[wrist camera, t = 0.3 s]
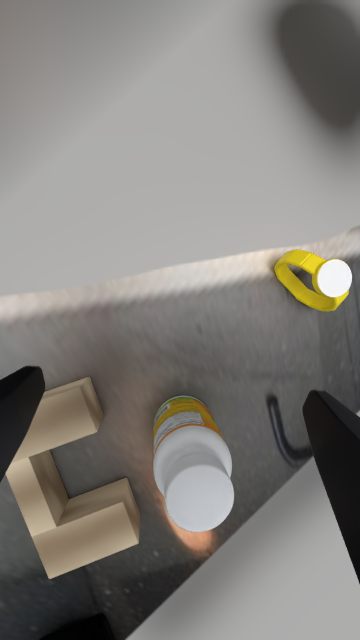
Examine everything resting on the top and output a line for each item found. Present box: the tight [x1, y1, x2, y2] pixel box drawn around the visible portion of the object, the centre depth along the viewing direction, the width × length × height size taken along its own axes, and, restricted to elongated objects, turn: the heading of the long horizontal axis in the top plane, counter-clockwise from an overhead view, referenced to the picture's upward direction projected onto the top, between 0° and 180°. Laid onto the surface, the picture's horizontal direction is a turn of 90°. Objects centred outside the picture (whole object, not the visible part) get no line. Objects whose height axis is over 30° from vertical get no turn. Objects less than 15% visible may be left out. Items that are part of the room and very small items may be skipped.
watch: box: [274, 250, 352, 311], centre depth 22 cm, size 6×3×6 cm, turn 46°
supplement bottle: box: [153, 396, 234, 532], centre depth 19 cm, size 5×5×10 cm
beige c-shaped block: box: [5, 376, 140, 579], centre depth 22 cm, size 14×8×3 cm, turn 18°
